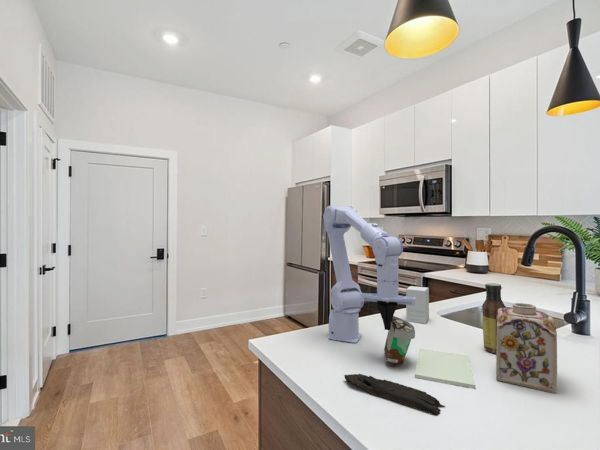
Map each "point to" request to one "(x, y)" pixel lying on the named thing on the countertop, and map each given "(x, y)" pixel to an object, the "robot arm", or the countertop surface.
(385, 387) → the wood
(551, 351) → the decorative jar
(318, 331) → the countertop surface
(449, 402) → the countertop surface
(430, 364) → the board
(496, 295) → the sauce bottle
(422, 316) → the supplement box
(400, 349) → the food container
